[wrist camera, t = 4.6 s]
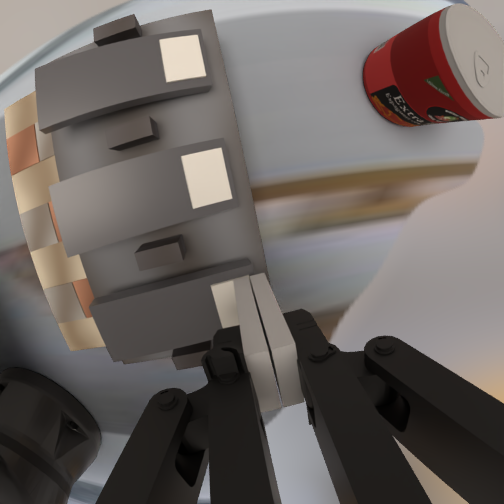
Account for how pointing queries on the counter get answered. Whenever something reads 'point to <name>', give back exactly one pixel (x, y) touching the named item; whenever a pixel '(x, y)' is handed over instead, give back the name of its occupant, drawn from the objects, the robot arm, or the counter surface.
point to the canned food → (439, 70)
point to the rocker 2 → (169, 311)
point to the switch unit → (117, 150)
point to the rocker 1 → (120, 77)
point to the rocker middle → (143, 195)
